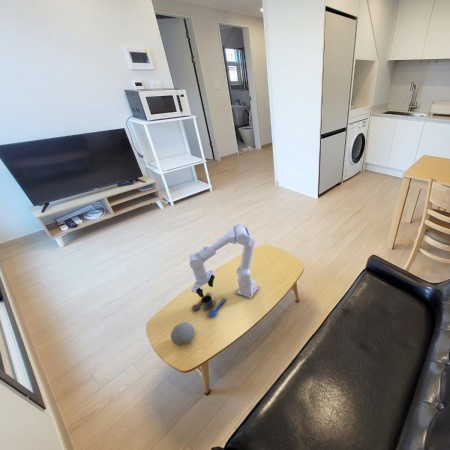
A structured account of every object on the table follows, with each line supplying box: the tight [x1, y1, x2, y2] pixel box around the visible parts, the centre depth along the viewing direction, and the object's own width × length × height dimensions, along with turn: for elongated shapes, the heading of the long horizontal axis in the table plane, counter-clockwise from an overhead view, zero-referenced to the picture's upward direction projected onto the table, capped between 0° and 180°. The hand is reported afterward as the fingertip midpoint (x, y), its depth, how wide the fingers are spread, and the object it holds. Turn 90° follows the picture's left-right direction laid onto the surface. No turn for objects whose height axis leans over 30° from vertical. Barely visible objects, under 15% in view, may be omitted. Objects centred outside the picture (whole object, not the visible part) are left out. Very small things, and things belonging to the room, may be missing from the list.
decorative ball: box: [170, 321, 195, 346], centre depth 113 cm, size 10×10×10 cm
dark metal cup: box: [200, 294, 215, 311], centre depth 130 cm, size 6×6×6 cm
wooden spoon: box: [192, 293, 210, 312], centre depth 133 cm, size 12×4×1 cm, turn 158°
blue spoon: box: [208, 298, 226, 318], centre depth 130 cm, size 12×4×1 cm, turn 158°
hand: (206, 291), depth 129 cm, fingers open, 7 cm apart
